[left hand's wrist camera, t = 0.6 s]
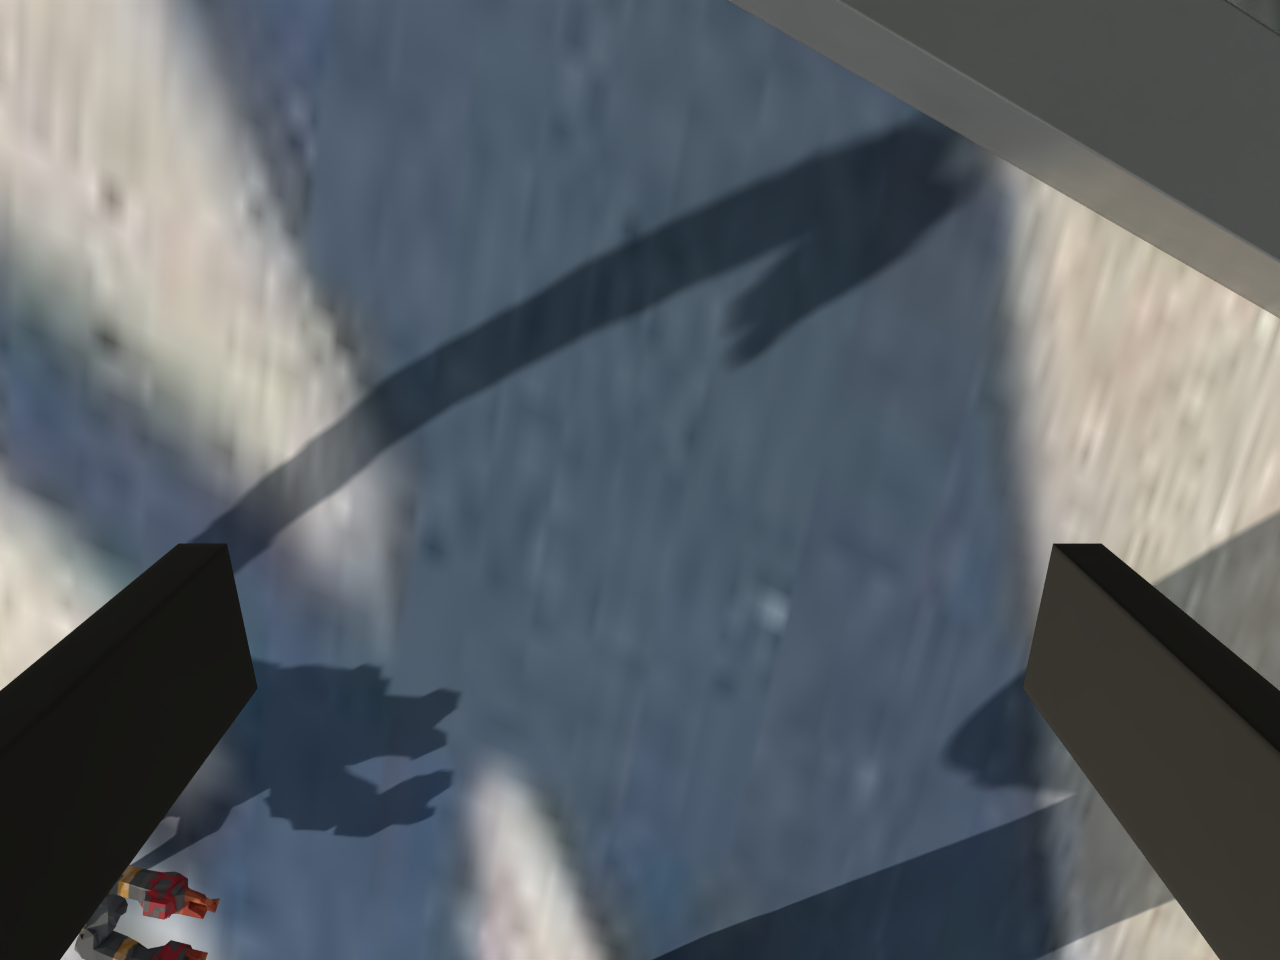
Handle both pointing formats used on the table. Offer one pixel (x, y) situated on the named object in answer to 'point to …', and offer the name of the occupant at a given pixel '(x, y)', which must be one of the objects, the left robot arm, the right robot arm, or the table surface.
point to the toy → (159, 896)
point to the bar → (1093, 107)
